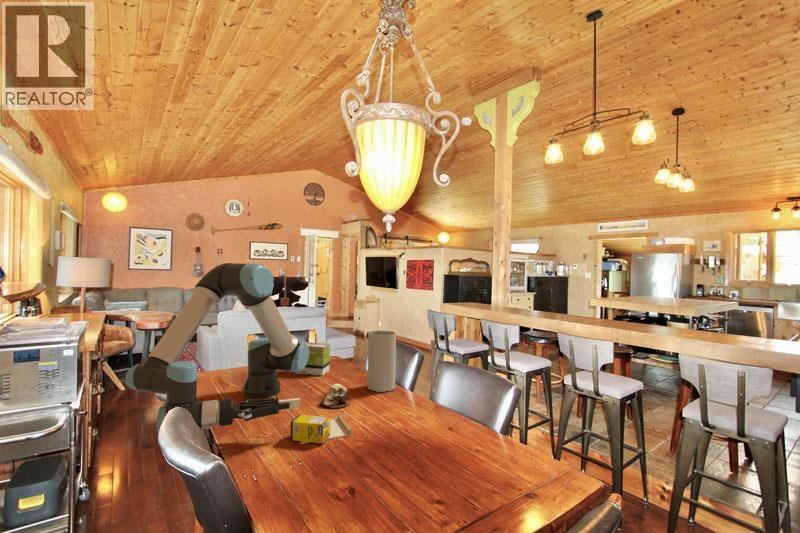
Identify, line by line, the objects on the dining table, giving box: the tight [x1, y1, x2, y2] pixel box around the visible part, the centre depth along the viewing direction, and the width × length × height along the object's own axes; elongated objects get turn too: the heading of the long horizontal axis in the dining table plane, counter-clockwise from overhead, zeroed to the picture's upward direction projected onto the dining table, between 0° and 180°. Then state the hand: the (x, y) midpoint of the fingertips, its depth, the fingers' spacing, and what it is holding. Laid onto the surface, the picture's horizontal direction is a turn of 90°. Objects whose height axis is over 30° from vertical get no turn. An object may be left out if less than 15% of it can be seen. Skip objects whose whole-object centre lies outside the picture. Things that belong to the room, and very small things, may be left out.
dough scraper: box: [299, 414, 352, 445], centre depth 126 cm, size 16×14×2 cm
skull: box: [319, 383, 351, 409], centre depth 152 cm, size 12×10×10 cm
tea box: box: [294, 341, 331, 376], centre depth 195 cm, size 15×10×15 cm, turn 81°
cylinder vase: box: [367, 330, 397, 393], centre depth 172 cm, size 12×12×25 cm
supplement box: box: [290, 414, 331, 444], centre depth 119 cm, size 6×6×11 cm
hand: (299, 402), depth 122 cm, fingers closed
